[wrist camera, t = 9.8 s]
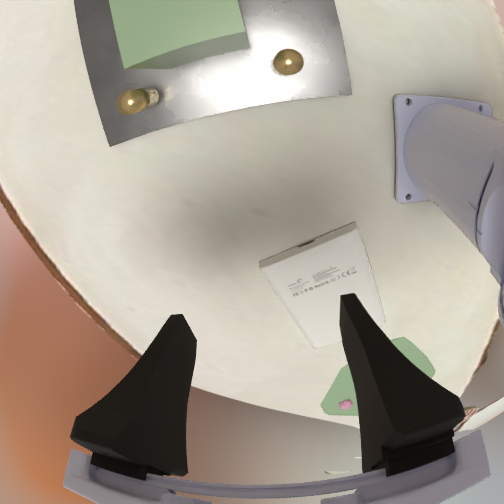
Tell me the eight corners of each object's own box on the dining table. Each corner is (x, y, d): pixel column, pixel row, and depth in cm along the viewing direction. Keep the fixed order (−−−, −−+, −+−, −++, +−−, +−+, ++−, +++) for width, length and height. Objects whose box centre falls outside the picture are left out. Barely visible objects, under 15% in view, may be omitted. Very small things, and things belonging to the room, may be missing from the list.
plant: (286, 371, 33) (288, 435, 26) (440, 313, 27) (467, 375, 20) (336, 419, 46) (340, 459, 38) (434, 385, 39) (446, 424, 32)
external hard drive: (311, 338, 29) (258, 257, 23) (382, 312, 27) (353, 218, 20) (313, 350, 28) (258, 270, 21) (386, 323, 25) (359, 229, 19)
